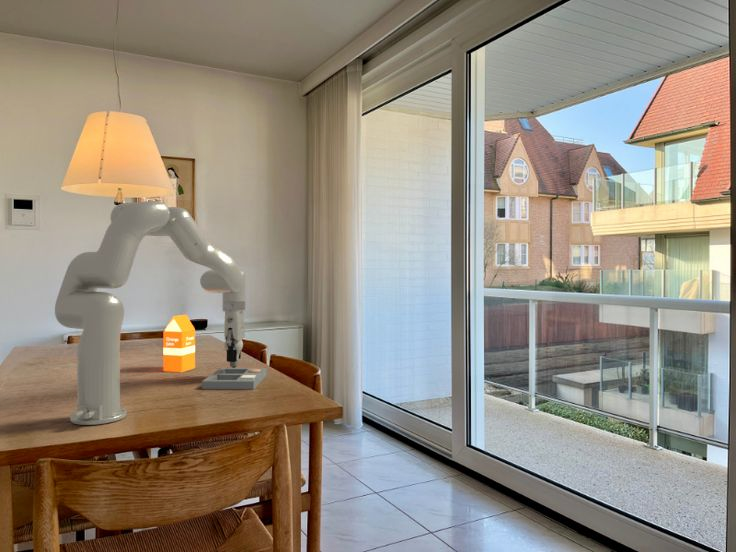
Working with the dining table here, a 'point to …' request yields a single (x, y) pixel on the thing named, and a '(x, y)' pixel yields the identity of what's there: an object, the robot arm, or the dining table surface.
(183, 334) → the orange juice
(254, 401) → the dining table surface
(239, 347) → the lightbulb
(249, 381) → the socket board
